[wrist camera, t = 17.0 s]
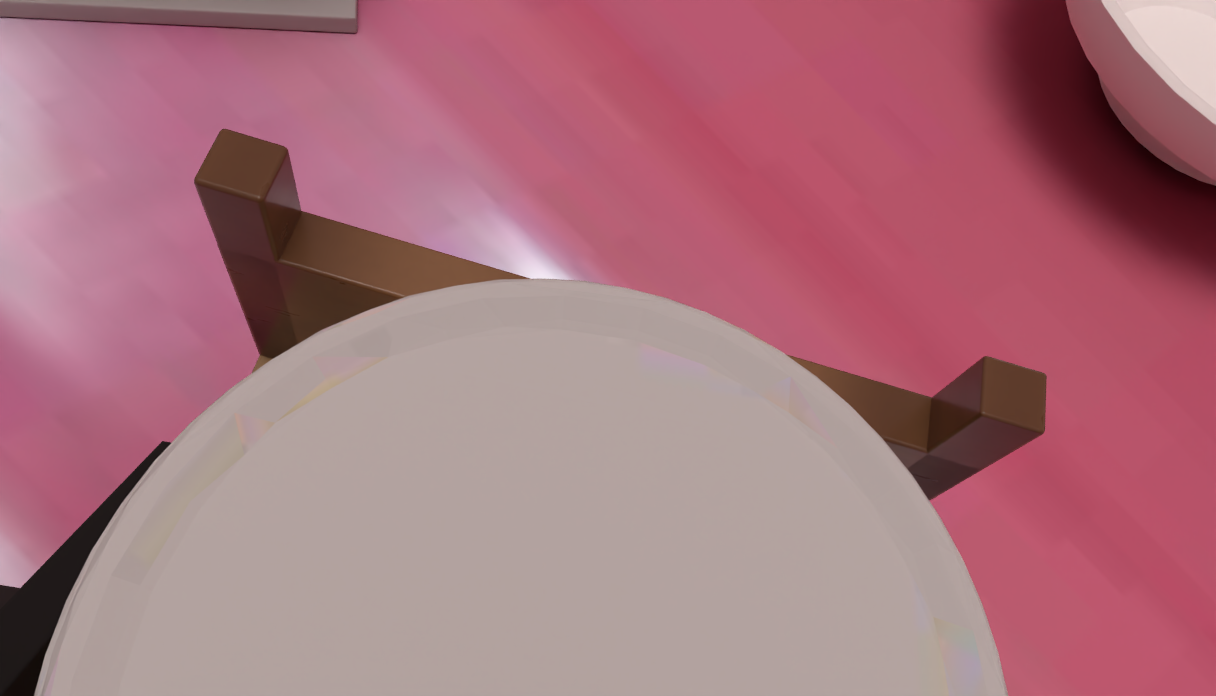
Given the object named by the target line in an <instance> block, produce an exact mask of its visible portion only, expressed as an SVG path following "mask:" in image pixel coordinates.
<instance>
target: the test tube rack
mask: <svg viewBox="0 0 1216 696" xmlns="http://www.w3.org/2000/svg"><path fill="white" fill-rule="evenodd" d="M357 6H358V0H0V17H21V18H42V19H64V20H86V21H108V22H130V23H152V24H173V25H195V26H217V27H239V28H261V29H282V30H303V31H324V32H346V33H356V32H357Z"/></svg>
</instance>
